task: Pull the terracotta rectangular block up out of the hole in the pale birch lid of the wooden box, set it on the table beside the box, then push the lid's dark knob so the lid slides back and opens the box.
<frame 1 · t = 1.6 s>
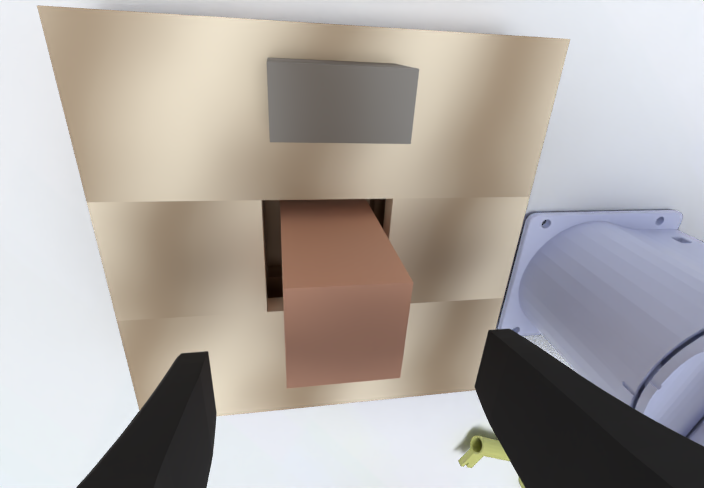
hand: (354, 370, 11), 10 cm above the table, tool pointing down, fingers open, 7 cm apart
terracotta rectangular block: (318, 220, 19), point 1 cm above the table, touching wooden box
lid: (329, 267, 15), point 5 cm above the table, slide at 0.0 cm
key: (523, 444, 32), on the table
wooden box: (317, 215, 20), on the table
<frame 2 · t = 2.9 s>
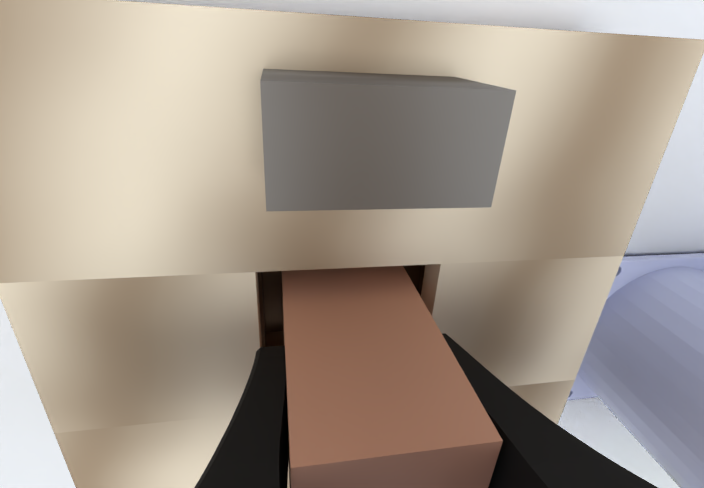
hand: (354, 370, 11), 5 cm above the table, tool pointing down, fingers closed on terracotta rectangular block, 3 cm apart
terracotta rectangular block: (330, 274, 15), point 1 cm above the table, touching gripper, wooden box
lid: (352, 360, 11), point 5 cm above the table, slide at 0.0 cm
wooden box: (328, 266, 15), on the table
when the fingers open (6 cm above the table, at t = 5.9 s): terracotta rectangular block drops 1 cm, on the table.
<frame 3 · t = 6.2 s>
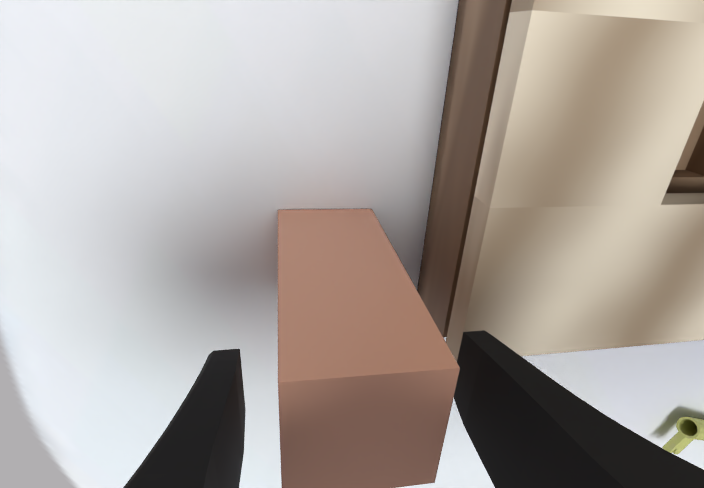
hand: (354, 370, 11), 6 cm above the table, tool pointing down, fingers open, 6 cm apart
terracotta rectangular block: (324, 251, 16), on the table
wooden box: (644, 103, 16), on the table
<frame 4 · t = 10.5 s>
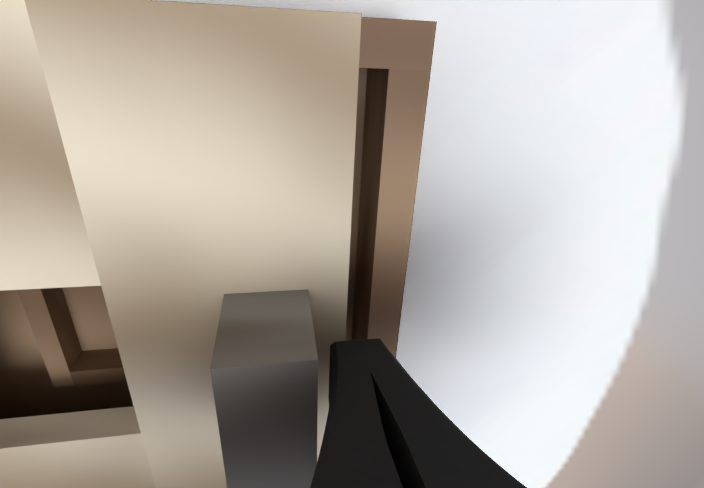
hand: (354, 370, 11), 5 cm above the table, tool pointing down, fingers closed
wooden box: (149, 278, 14), on the table
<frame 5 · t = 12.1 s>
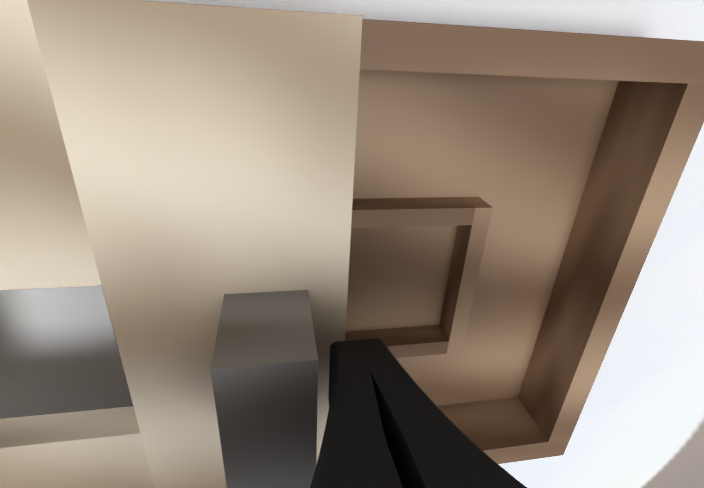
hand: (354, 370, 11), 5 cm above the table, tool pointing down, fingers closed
wooden box: (382, 267, 15), on the table
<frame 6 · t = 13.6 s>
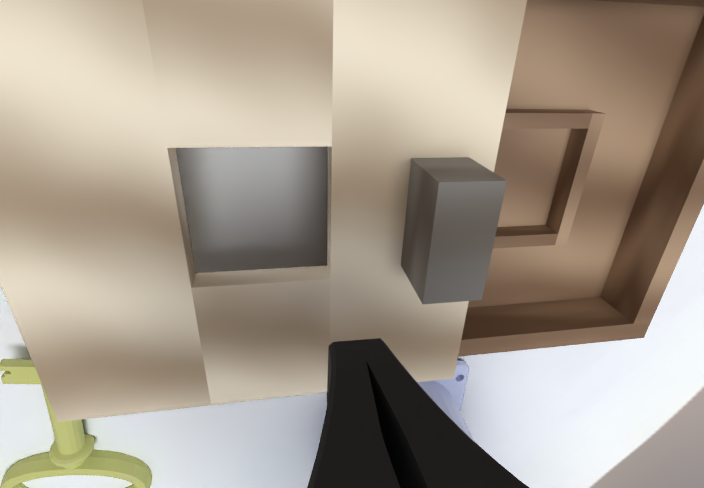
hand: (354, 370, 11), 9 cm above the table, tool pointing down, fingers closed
lid: (257, 230, 13), point 5 cm above the table, slide at 11.0 cm
key: (80, 428, 22), on the table
wooden box: (503, 174, 19), on the table
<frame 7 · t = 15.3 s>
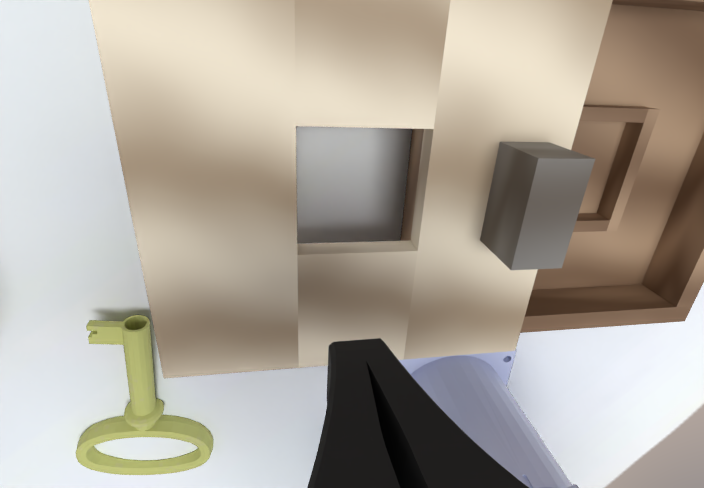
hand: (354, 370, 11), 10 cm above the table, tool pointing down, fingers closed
lid: (366, 201, 14), point 5 cm above the table, slide at 11.0 cm
key: (148, 394, 24), on the table
wooden box: (560, 165, 21), on the table
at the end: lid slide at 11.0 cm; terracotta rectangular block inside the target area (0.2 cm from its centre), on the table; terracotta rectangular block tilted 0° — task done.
